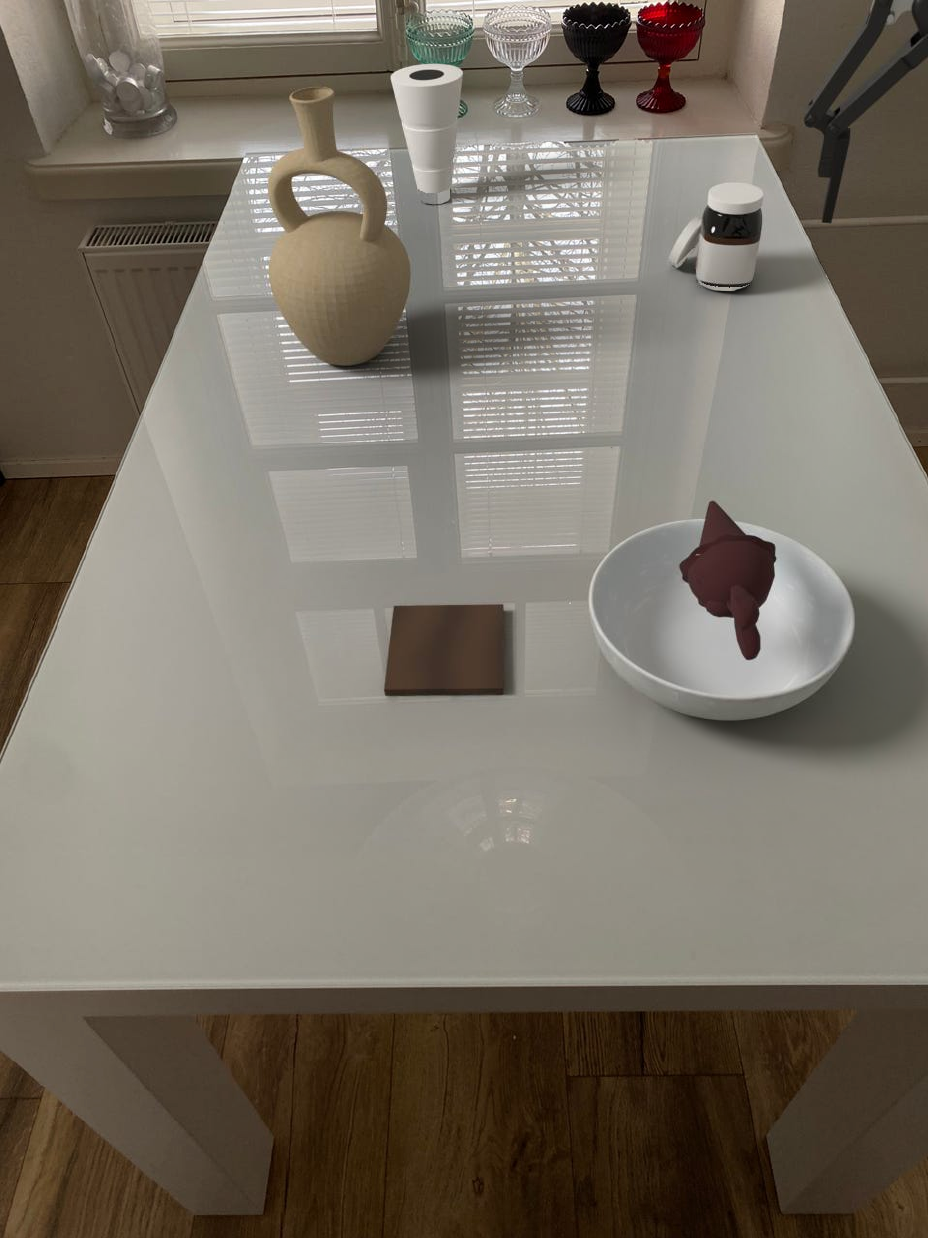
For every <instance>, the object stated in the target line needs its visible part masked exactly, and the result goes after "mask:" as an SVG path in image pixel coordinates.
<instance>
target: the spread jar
mask: <svg viewBox="0 0 928 1238" xmlns="http://www.w3.org/2000/svg"><path fill="white" fill-rule="evenodd" d="M764 194H765V193H764V191H763V190H762V189H761V188H760V187H759V186H756V185H755V184H751V183H746V182H738V181H737V182H736V181H734V182H733V181H731V182H723V183H719V184H716V185H714V186H712V187H711V188H709V190H708V195H707V205H706V206H705V208H704V209H703V213H702V217H701V218H700V217H698V216H695V217H693V218H692V219H691V220H690V221H689V222H688V224H686V226H685V228H683V230H682V232H681V233H680V235H679V236H678V238H677V240H676V241H675V244H674V246H673V247H672V249H671V251H670V254H669V257H668V261H670V262H672V263H675V264H678V263H679V262H680V261H681V260H682V259H683V258H684V257H685V256H686V255H687V254H688V253H689V252H690V251H691V250H692V249H693V248H694V247H695V246H696V247H697V252H696V259H695V269H696V273H697V277H698V279H699V280H700V281H701V282H702V283H704V284H706V285H710V286H715V287H716V286H718V287H729V288H730V287H743V286H746V285H748V284H750V283H751V284H752V282H753V279H754V276H755V275H754V274H755V270H756V266H757V259H758V253H759V248H760V241H761V236H762V231H763V230H762V228H763V212H762V208H761V207H762V206H763V202H764V196H765V195H764ZM696 247H695V248H696ZM668 261H667V262H668ZM751 281H752V282H751ZM751 284H750V285H751Z"/></svg>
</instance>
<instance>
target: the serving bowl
mask: <svg viewBox="0 0 928 1238" xmlns="http://www.w3.org/2000/svg"><path fill="white" fill-rule="evenodd" d="M733 521H734V522H735V523H736V524H737V525H738V526H739V528H740V529H741V530H742V531H743V532H744V533H745V534H746V535H753V536H757V537H759V538H761V539H762V540H764V541H768V542H772V543H773V544H775V547H776V551H775V556H776V562H775V563H774V569H775V578H774V581H773V584H772V587H771V589H770V592H769V595H768V597H767V600H766V601H765V602H764V604H763V605H762V606H761V607H760V608H759V613H760V614H759V618H758V621H757V623H756V626H757V629H758V631H759V634H760V638H761V649H760V652H759V654H758V656H757V658H755V659H753V660H746V659H745V658H744V656H743V655H742V653H741V650H740V648H739V645H738V642H737V638H736V632H735V626H734V618H729V617H720V618H719V617H716V616H713V615H711V614H710V613H709V612H707V610H706V608H705V607H702V606H701V605H699V604H698V599H697V598H696V597H695V595H694V594H693V593H692V591H691V588H690V586H689V584H688V583H687V582H685V581H684V580H683V579H682V573H681V571H680V568H679V565H680V563H681V562H682V561H683V560H685V559H686V558H687V557H689V555H690V554H691V553H692V552H693V551H694V550H695V549H696V548H697V547H699V544H700V540H701V535H702V531H703V526H704V522H705V518H693V519H682V520H676V521H670V522H666V523H665V522H664V523H662V524H661V523H660V524H658V525H655V526H652V527H649V528H645V529H643V530H642V531H639V532H637V533H635V534H633V535H631V536H629V537H628V538H626V539H624V540H623V541H621V542H620V543H618V544H617V545H616V546H614V547H613V548H612V549H611V550H610V551H609V552H608V553H607V554H606V556H605V557H604V558H603V559H602V560H601V562H600V563H599V564H598V567H597V568H596V570H595V571H594V573H593V576H592V578H591V581H590V584H589V587H588V597H587V598H588V599H587V600H588V611H589V618H590V622H591V627H592V631H593V635H594V636H595V640H596V643H597V644H598V646H599V649H600V651H601V653H602V655H603V656H604V659H606V661H607V663H608V664H609V665H610V666H611V668H612V669H613V671H615V673H616V674H617V675H618V676H619V677H620V678H621V679H622V680H623V682H626V684H627V685H629V687H631V688H633V690H635V691H636V692H638V693H639V694H641V695H642V696H643V697H645V698H647V699H648V700H651V701H652V702H654V703H656V704H657V705H659V706H660V707H664V708H666V709H668V710H672V711H674V712H677V713H679V714H683V715H686V716H690V717H694V718H700V719H706V720H715V721H744V720H752V719H758V718H763V717H768V716H771V715H774V714H778V713H780V712H782V711H785V710H788V709H790V708H792V707H795V706H796V705H798V704H800V703H801V702H803V701H805V700H807V699H808V698H810V697H811V696H812V695H813V694H815V693H816V692H818V690H820V689H821V687H823V686H824V685H825V684H826V683H827V682H828V681H829V679H831V677H832V676H833V675H834V674H835V672H836V671H837V670H838V668H839V667H840V665H841V664H842V662H843V660H844V659H845V657H846V656H847V654H848V652H849V650H850V648H851V645H852V642H853V639H854V636H855V635H854V634H855V629H856V613H855V608H854V604H853V599H852V598H851V595H850V593H849V590H848V589H847V586H846V585H845V583H844V581H843V580H842V579H841V577H840V576H839V575H838V574H837V572H836V571H835V570H834V568H833V567H832V566H830V565H829V563H828V562H826V561H825V560H824V559H823V558H822V557H821V556H819V555H818V554H817V553H815V551H813V550H812V549H810V548H808V547H807V546H805V545H804V544H802V543H801V542H799V541H797V540H795V539H793V538H791V537H789V536H786V535H784V534H783V533H780V532H777V531H775V530H772V529H769V528H766V527H764V526H760V525H757V524H753V523H749V522H744V521H738V520H733Z"/></svg>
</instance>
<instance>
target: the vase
mask: <svg viewBox="0 0 928 1238" xmlns="http://www.w3.org/2000/svg"><path fill="white" fill-rule="evenodd" d="M335 94H336V92H335V91H334V90H333V89H332V88H330V87H325V86H310V87H309V86H308V87H304V88H299V89H297V90H296V91H293V92H291V94H290V95H289V100H290V102H291V105H292V107H293V109H294V111H295V115H296V118H297V121H298V125H299V130H300V133H301V137H302V144H303V146H304V147H302V148H299V149H295V150H291V151H289V152H288V153H286V154H284V155H283V156H280V158H279V159H278V160H277V161H276V162H275V163H274V165H273V166H272V168H271V170H270V173H269V175H268V180H267V196H268V200H269V205H270V208H271V210H272V213H273V215H274V217H275V219H276V220H277V222H278V223H279V224H280V226H281V227H282V229H283V230H284V231H283V233H282V234H281V235H280V236H279V237H278V238H277V239H276V242H275V243H274V246H273V247H272V250H271V252H270V255H269V259H268V269H267V270H268V272H267V273H268V281H269V286H270V290H271V293H272V297H273V299H274V302H275V304H276V306H277V308H278V310H279V311H280V314H281V315H282V317H283V320H284V321H285V322H286V324H287V326H288V327H289V329H290V330H291V331H292V333H293V335H295V336H296V338H297V339H298V341H299V342H300V343H301V344H302V345H303V346H304V347H305V348H306V350H307V351H309V352H310V353H311V354H312V355H313V356H315V357H316V358H317V359H319V360H320V361H323V362H325V363H327V364H331V365H335V366H344V367H349V366H355V365H360V364H364V363H365V362H368V361H370V360H372V359H373V358H375V357H376V356H378V355H379V354H380V353H381V352H382V351H383V350H384V348H385V347H386V346H387V345H388V343H389V341H390V340H391V339H392V337H393V335H394V333H395V331H396V329H397V326H398V324H399V322H400V320H401V318H402V316H403V313H404V310H405V308H406V304H407V301H408V297H409V292H410V286H411V276H412V274H411V264H410V259H409V254H408V252H407V249H406V247H405V245H404V244H403V242H402V240H401V238H400V237H399V236H398V234H396V233H395V232H394V231H393V230H392V229H391V227H389V226H388V225H386V219H387V215H388V200H387V194H386V193H387V192H386V189H385V187H384V185H383V183H382V181H381V180H380V178H379V177H378V175H377V174H376V172H375V171H374V170H373V169H372V168H371V167H369V165H367V164H366V163H365V162H363V161H362V160H360V159H359V158H357V157H355V156H353V155H350V154H347V153H345V152H343V151H340V150H338V149H337V142H336V135H335V134H336V133H335V124H334V101H335ZM310 174H312V175H313V174H314V175H322V176H327V177H330V178H333V179H336V180H338V181H341V182H342V183H344V184H346V185H347V186H349V187H350V188H351V189H352V190H353V191H354V192H355V193H356V195H357V196H358V198H359V200H360V202H361V206H362V213H360V212H357V211H356V212H354V211H348V210H329V211H322V212H318V213H314V214H311V215H308V214H307V213H306V212H305V211H304V210H303V208H302V207H301V205H300V203H298V200H297V199H296V197H295V194H294V190H293V185H292V184H293V178H294V177H299V176H301V175H310Z"/></svg>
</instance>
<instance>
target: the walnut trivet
mask: <svg viewBox="0 0 928 1238" xmlns="http://www.w3.org/2000/svg"><path fill="white" fill-rule="evenodd" d="M504 605H505V604H503V603H494V604H491V603H490V604H489V603H488V604H486V603H485V604H483V603H482V604H428V605H427V604H425V605H424V604H422V605H421V604H419V605H418V604H417V605H393V609H392V618H391V626H390V635H389V643H388V650H387V652H388V653H387V660H386V668H385V669H386V670H385V677H384V685H383V686H384V687H383V691H384V692H383V693H384V696H449V695H450V696H451V695H452V696H453V695H454V696H455V695H456V696H457V695H458V696H459V695H460V696H461V695H464V696H465V695H467V696H468V695H504V694H505V692H504V691H505V690H504V689H505V688H504V684H505V683H504V682H505V678H504V677H505V676H504V675H505V674H504V673H505V671H504V669H505V667H504V665H505V664H504V663H505V662H504V661H505V660H504V659H505V657H504V656H505V655H504V654H505V653H504V651H505V650H504V649H505V646H504V645H505V639H504V637H505V636H504V634H505V633H504V632H505V631H504V630H505V627H504V626H505V620H504V619H505V617H504V615H505V610H504V608H505V607H504Z"/></svg>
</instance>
